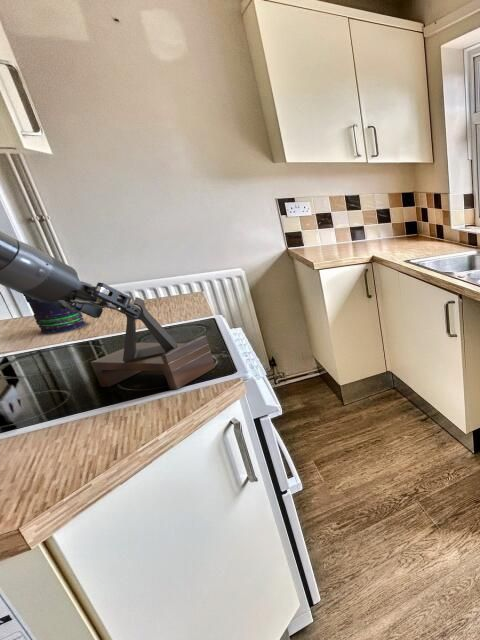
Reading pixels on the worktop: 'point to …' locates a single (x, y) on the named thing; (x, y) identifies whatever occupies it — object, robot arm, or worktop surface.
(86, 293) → the robot arm
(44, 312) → the blue green striped cylinder
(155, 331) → the phone stand
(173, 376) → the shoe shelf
